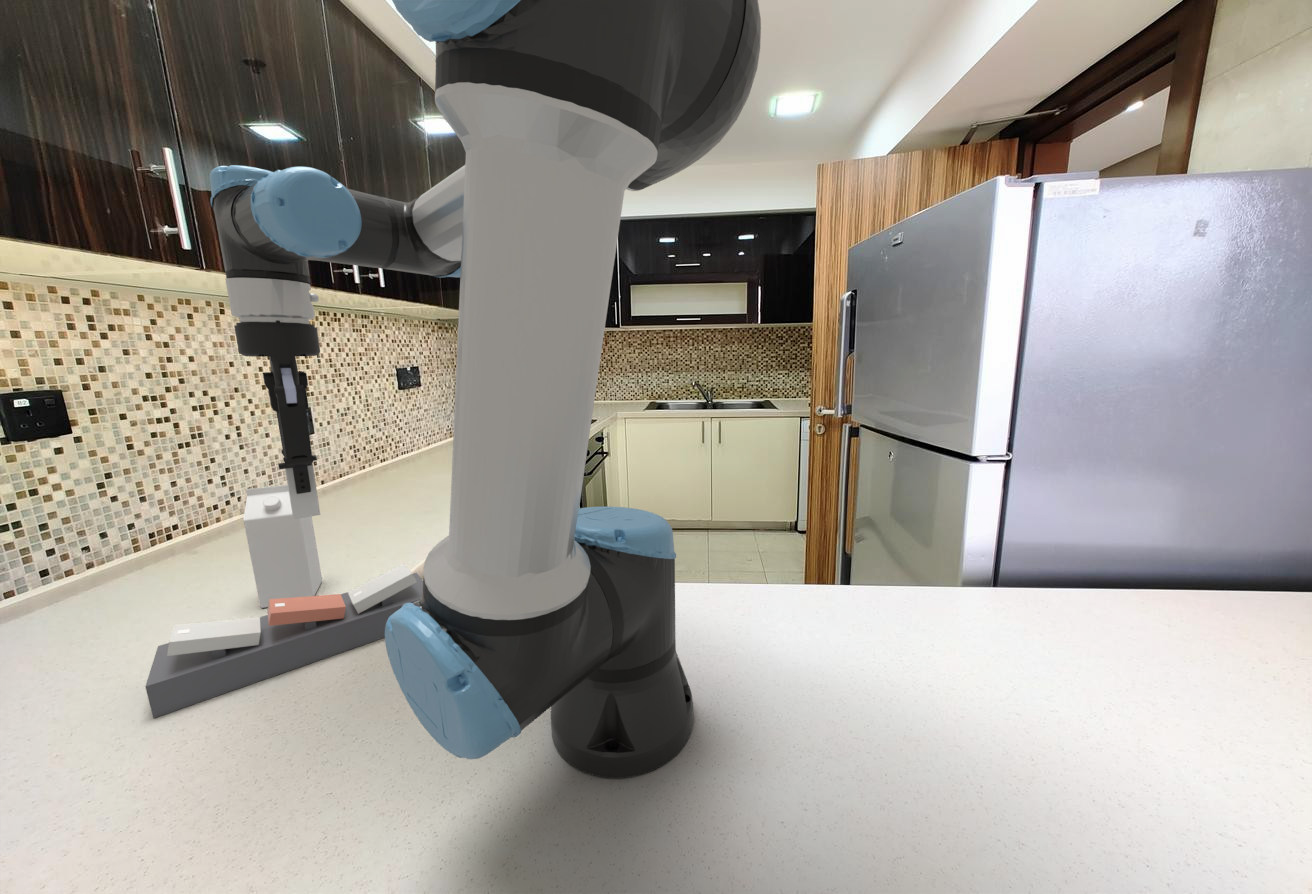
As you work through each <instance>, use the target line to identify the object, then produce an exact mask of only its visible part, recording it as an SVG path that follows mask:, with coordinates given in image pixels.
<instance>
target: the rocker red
mask: <svg viewBox="0 0 1312 894" xmlns="http://www.w3.org/2000/svg"><path fill="white" fill-rule="evenodd" d="M341 594H342V593H338V594H324V595H323V594H322V595H315V596H307V597H293V598H279V599H269V605H268V607H267V615H268V623H269V626H273V625H283V624H293V623H303V622H312V621H322V620H332V619H342V618H344V615H345V609H346V606H345V604H344V601H343V599H342V596H341Z"/></svg>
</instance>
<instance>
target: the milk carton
mask: <svg viewBox="0 0 1312 894" xmlns="http://www.w3.org/2000/svg"><path fill="white" fill-rule="evenodd" d="M245 491H246V495H247V497H246V501H245V507H244V513H243V517H242V518H243V519H242V520H243V525H244V529H245V536H246V540H247V545H248V550H249V551H248V552H249V555H250V560H251V561H250V562H251V567H252V571H253V576H254V581H255V586H256V592H257V597H258V601H259V607H260V608H261V609H263V608H265V609H266V608H268V605H269V599H279V598H293V597H307V596H316V593H317V592H318V590H319V588H320V586H321V584H322V581H323V577H322V570H321V565H320V559H319V557H320V556H319V551H318V547H317V539H316V536H315V527H314V523H313V516H311V517H305V518H300V519H293V514H292V508H291V502H290V496H289V490H288V484H281V485H273V486H264V487H254V488H247V489H245Z"/></svg>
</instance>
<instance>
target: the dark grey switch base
mask: <svg viewBox="0 0 1312 894" xmlns="http://www.w3.org/2000/svg"><path fill="white" fill-rule="evenodd" d="M412 573H413V572H412ZM413 575H414V577H415V579H416V583H414V584H412V585H411V586H409V587H407V588H405V589H403V590H401V591H400V592H398V593H396V594H394V595H392V596H390V597H388V598H387V599H385V600H383V601H381V602H379V603H377V604H376V605H374V606H372V607H370V608H368V609H366V610H364V611H363V612H361V613H359V614H358V612H357V611H356V609H355V607H354V605H353V603H352V601H351V599H350V596H349V594H348V592H349V591H347V592H344V593H340V594H341V596H342V599H343V601H344V604H345V606H346V609H345V615H344V618H342V619H332V620H322V621H312V622H303V623H293V624H283V625H273V626H269V623H268V614H266V615H262V616H259V617H260V630H261V633H260V639H259V645H254V646H246V647H238V648H229V649H221V650H213V651H204V652H196V653H188V654H180V655H171V656H167V653H168V647H169V642H168V643H164V644H160V645H157V648H156V652H155V655H154V657H153V661H152V664H151V667H150V670H149V674H148V677H147V680H146V683H145V685H144V686H145V691H146V694H147V699H148V701H149V702H148V703H149V706H150V711H151V715H152V718H153V719H156V718H159V717H163V716H164V715H167V714H171V713H173V712H175V711H179V710H182V709H185V708H187V707H190V706H193V705H196V704H198V703H202V702H204V701H208V700H209V699H212V698H215V697H219V696H221V695H224V694H227V693H231V692H233V691H235V690H239V689H241V688H244V687H246V686H250V685H253V684H256V683H258V682H262V681H264V680H267V679H270V678H272V677H276V676H278V675H281V674H284V673H287V672H289V671H292V670H295V669H298V668H302V667H304V666H307V665H310V664H313V663H316V662H318V661H322V660H325V659H327V658H330V657H333V656H336V655H338V654H341V653H344V652H347V651H350V650H353V649H356V648H358V647H360V646H365V645H367V644H369V643H373V642H375V641H378V640H381V639H385V626H386V622H387V620H388V618H389V617H390V616H391V615H392V614H394V613H395V612H396V611H397V610H399V609H400V608H402V606H403V605H404V604H405V603H414V602H416V601H419V600H420V599H421V598H422V596H423V578H421V576H420V575H419V573H417V572H414V573H413Z"/></svg>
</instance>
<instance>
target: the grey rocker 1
mask: <svg viewBox="0 0 1312 894" xmlns="http://www.w3.org/2000/svg"><path fill="white" fill-rule="evenodd" d="M260 617H261V616H256V617H243V618H236V619H234V618H233V619H223V620H222V619H221V620H213V621H201V622H200V621H199V622H192V623H191V622H190V623H179V624H178V623H176V624H173V628H172V630H171V633H170V634H171V635H170V638H169V642H168V643H169V647H168V653H167V656H171V655H180V654H188V653H196V652H204V651H213V650H221V649H229V648H238V647H246V646H254V645H259V639H260V633H261V630H260Z"/></svg>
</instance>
